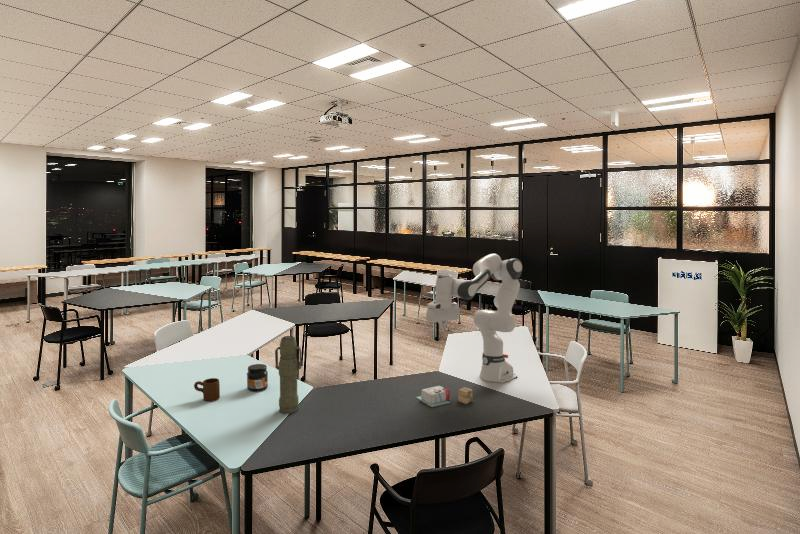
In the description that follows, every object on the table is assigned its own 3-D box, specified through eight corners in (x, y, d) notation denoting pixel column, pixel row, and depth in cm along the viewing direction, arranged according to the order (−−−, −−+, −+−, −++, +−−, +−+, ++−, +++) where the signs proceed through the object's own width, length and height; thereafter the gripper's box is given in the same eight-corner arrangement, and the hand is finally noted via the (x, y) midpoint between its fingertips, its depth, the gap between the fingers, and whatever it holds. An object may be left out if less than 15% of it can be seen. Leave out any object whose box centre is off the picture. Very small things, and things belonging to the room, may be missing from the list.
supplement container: (259, 393, 234) (259, 370, 233) (242, 390, 238) (242, 368, 237) (271, 386, 244) (271, 364, 243) (255, 384, 248) (254, 362, 247)
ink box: (450, 390, 229) (431, 394, 222) (449, 400, 229) (431, 404, 222) (439, 385, 236) (421, 388, 229) (438, 394, 236) (420, 398, 230)
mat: (433, 393, 238) (433, 393, 237) (450, 402, 226) (450, 402, 226) (415, 397, 232) (415, 397, 232) (431, 407, 220) (431, 406, 220)
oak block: (463, 398, 232) (464, 387, 231) (472, 401, 228) (472, 389, 228) (458, 401, 228) (458, 389, 228) (466, 404, 225) (466, 392, 224)
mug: (191, 402, 222) (191, 383, 221) (197, 396, 229) (196, 378, 228) (217, 401, 223) (216, 383, 222) (221, 395, 230) (221, 377, 230)
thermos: (276, 407, 218) (275, 335, 214) (301, 405, 220) (301, 334, 216) (274, 414, 209) (273, 340, 206) (301, 413, 211) (300, 339, 208)
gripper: (454, 301, 255) (454, 325, 256) (424, 304, 244) (424, 329, 246) (462, 303, 250) (461, 328, 251) (431, 306, 239) (431, 332, 240)
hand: (442, 329), depth 248 cm, fingers closed
